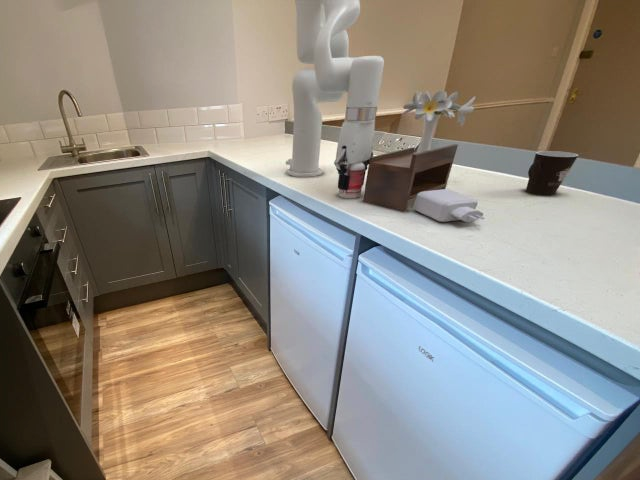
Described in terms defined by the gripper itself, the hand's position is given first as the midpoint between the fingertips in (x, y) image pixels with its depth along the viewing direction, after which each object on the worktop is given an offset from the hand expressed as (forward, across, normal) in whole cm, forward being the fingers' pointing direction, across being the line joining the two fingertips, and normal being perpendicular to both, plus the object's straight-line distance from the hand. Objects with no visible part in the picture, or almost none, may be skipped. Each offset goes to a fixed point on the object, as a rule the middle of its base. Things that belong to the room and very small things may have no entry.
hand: (350, 186), depth 96 cm
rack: (+3, -8, +12) cm, 15 cm away
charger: (+3, -1, +28) cm, 28 cm away
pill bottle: (+3, 0, 0) cm, 3 cm away
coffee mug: (+3, -38, +33) cm, 50 cm away
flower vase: (+3, -28, +5) cm, 29 cm away
